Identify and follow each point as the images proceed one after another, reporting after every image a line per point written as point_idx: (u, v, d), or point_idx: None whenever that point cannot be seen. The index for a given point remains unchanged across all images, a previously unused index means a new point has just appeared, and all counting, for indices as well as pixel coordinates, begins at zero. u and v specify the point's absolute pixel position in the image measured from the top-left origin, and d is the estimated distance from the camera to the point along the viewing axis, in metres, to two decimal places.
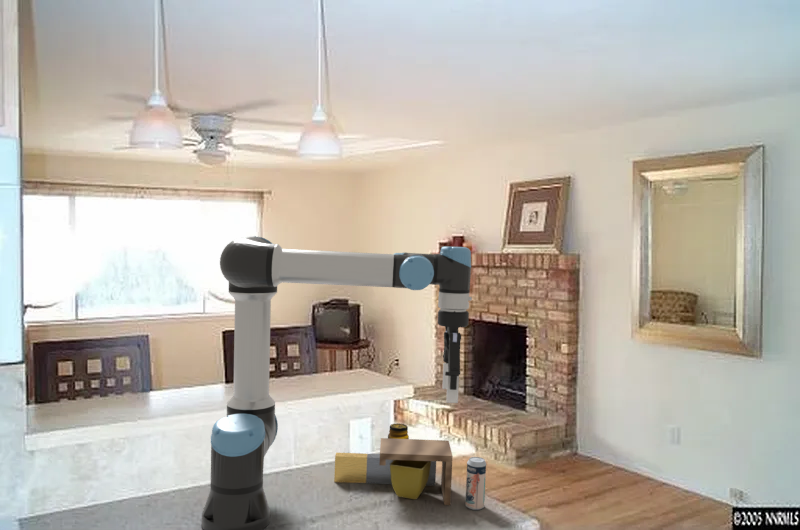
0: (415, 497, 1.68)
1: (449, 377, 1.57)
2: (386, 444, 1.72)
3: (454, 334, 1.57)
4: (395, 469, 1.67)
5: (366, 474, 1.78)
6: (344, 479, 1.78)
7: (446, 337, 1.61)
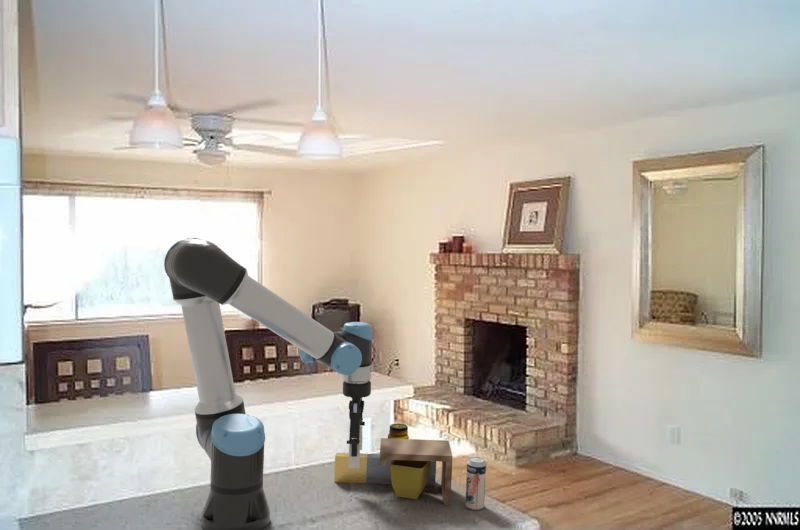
0: (415, 497, 1.68)
1: (350, 445, 1.72)
2: (386, 444, 1.72)
3: (354, 405, 1.72)
4: (395, 469, 1.67)
5: (366, 474, 1.78)
6: (344, 479, 1.78)
7: (350, 406, 1.76)
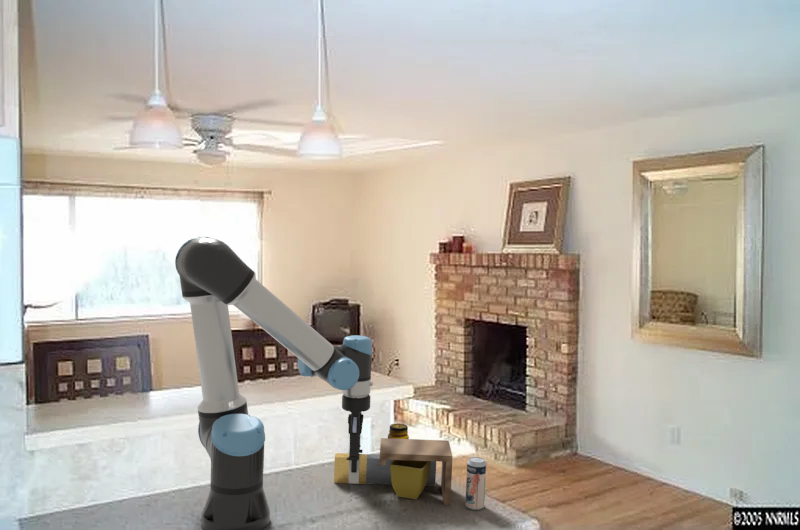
0: (415, 497, 1.68)
1: (350, 461, 1.76)
2: (386, 444, 1.72)
3: (353, 427, 1.71)
4: (395, 469, 1.67)
5: (366, 475, 1.77)
6: (344, 480, 1.77)
7: (349, 422, 1.76)
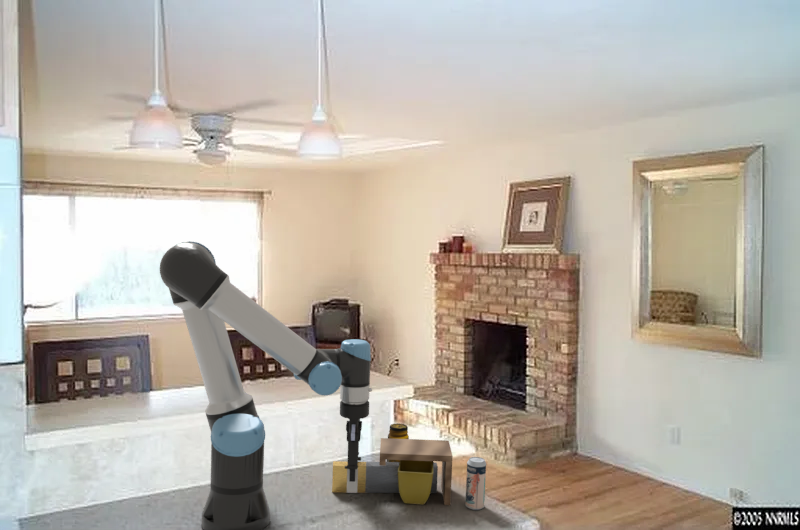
0: (423, 502, 1.65)
1: (349, 469, 1.70)
2: (386, 444, 1.72)
3: (352, 435, 1.65)
4: (404, 476, 1.63)
5: (365, 483, 1.71)
6: (342, 489, 1.71)
7: (347, 429, 1.69)
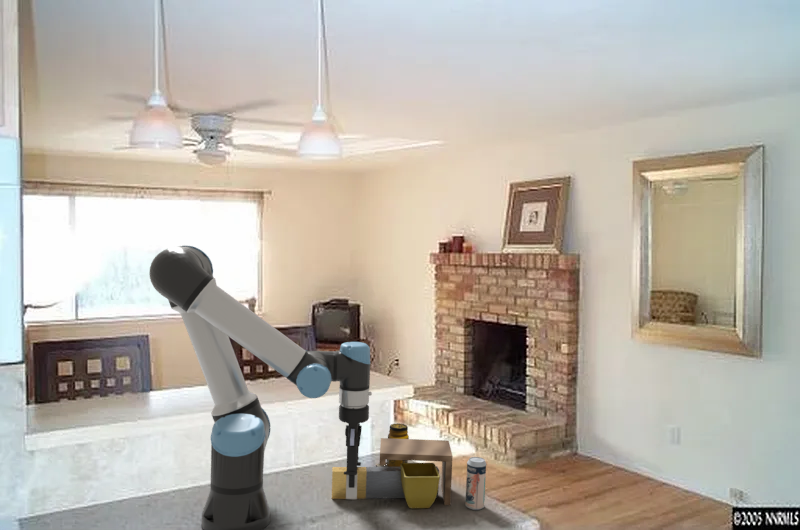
0: (429, 506, 1.63)
1: (348, 475, 1.66)
2: (386, 444, 1.72)
3: (351, 440, 1.61)
4: (411, 481, 1.60)
5: (366, 489, 1.68)
6: (342, 495, 1.67)
7: (346, 434, 1.66)
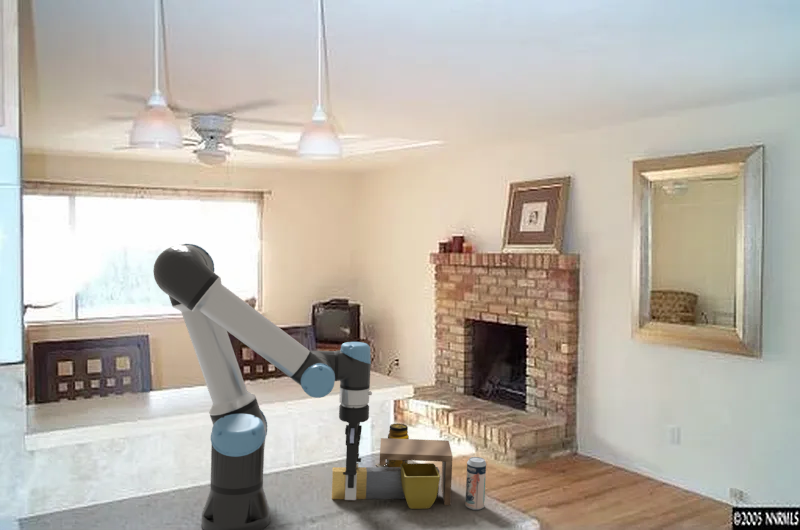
0: (429, 506, 1.63)
1: (347, 476, 1.65)
2: (386, 444, 1.72)
3: (351, 437, 1.62)
4: (411, 481, 1.60)
5: (366, 489, 1.68)
6: (342, 496, 1.67)
7: (346, 433, 1.66)
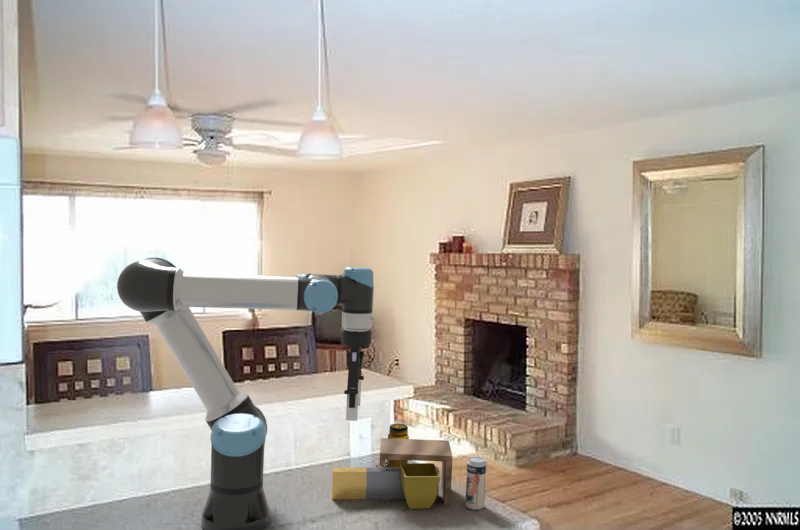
0: (429, 506, 1.63)
1: (348, 395, 1.61)
2: (386, 444, 1.72)
3: (353, 353, 1.61)
4: (411, 481, 1.60)
5: (366, 489, 1.68)
6: (342, 496, 1.67)
7: (348, 356, 1.65)
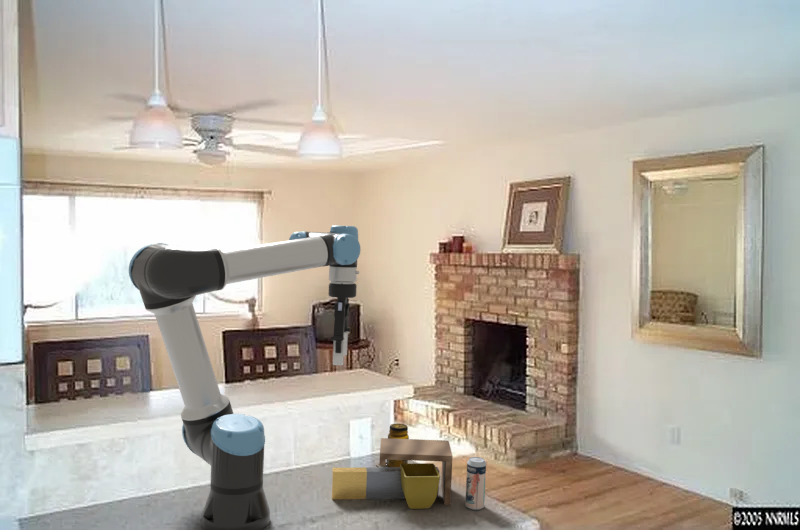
0: (429, 506, 1.63)
1: (335, 342, 1.75)
2: (386, 444, 1.72)
3: (339, 303, 1.75)
4: (411, 481, 1.60)
5: (366, 489, 1.68)
6: (342, 496, 1.67)
7: (335, 307, 1.79)
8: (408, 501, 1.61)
